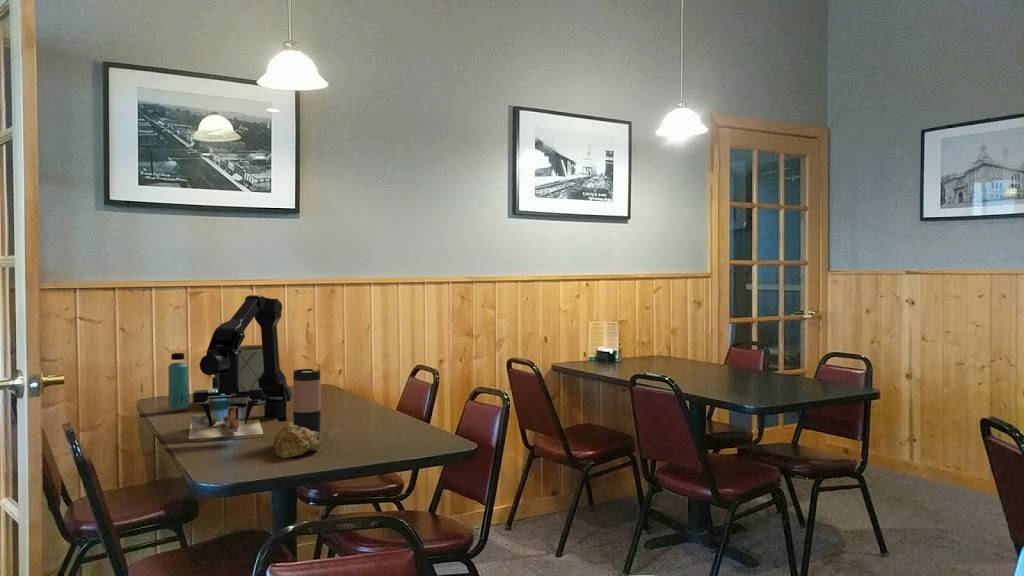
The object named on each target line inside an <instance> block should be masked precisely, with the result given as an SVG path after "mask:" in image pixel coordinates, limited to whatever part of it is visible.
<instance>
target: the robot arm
mask: <svg viewBox="0 0 1024 576" xmlns="http://www.w3.org/2000/svg"><path fill="white" fill-rule="evenodd" d="M282 311H283V304H282V302H281V301H280V300H279V299H278V298H270V297H265V296H263V295H260V294H259V295H255V294H254V295H247V296H245V298H244V301H243V303H242V304H241V306H239V308H238V309H237V311H236V312H235V313H234V315H233V316H231V318H230V319H229V320H227V321H225V322H223V323H221V324H220V325H219V326H217V327H216V328H215V330H214V332H213V333H212V335H211V336H212V337H211V339H210V341H209V344H208V346H207V349H206V353H205V355H204V356H202V358H201V359H200V362H199V369H200V371H201V372H202V373H203V374H204V375H206V376H213V375H217V376H215V377H214V376H213V377H212V390H215V389H216V390H217V391H215V392H213V391H212V392H209V390H208V389H198V390H197V389H196V390H194V391H193V394H192V403H193V404H194V403H195V404H197V406H198V407H202V408H203V409H202V410H204V413H205V415H207V418H208V421H209V423H210V426H212V417H211V415H212V412H211V403H210V400H216V399H217V400H219V399H221V400H222V399H226V398H242V397H248V398H247V404H246V405H245V413H244V421H245V424H246V423H247V420H249V417H250V414H251V412H252V409H253V407H254V406H255V405H256V404H255V403H258V400H261V401H266V402H265V404H263V417H264V418H276V420H277V421H288V418H287V402H291V400H292V398H293V393H292V391H291V389H290V387H289V386H288V383H287V379H286V378H287V377H286V375H285V374H284V372H283V371H282V370H281V368H280V354H279V342H278V341H279V339H278V338H279V337H278V327H277V326H278V324H279V322H280V321H281V318H282ZM254 319H255V321H256V322H257V324H258V325H259V327H260V334H261V335H260V337H261V345H262V351H263V365H264V372H263V374H262V376H261V377H260V378H259V379H258V383H259V387H257V388H248V391H239V354H240V353H242V351H241V350H240V349H239V346H241V345H242V343H243V342H244V339H246V338H245V337H246V335H245V330H246V329H247V327H248V326H249V324H251V322H252V321H253V320H254Z"/></svg>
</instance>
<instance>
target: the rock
mask: <svg viewBox="0 0 1024 576" xmlns="http://www.w3.org/2000/svg"><path fill="white" fill-rule="evenodd" d="M323 438H324V437H323V434H322V433H321V431H320V432H317V431H311V430H309V429H308V428H304V427H299V426H297V425H294V422H293V421H289V422H287V423H286V424H285V426H283V428H281V429H280V430H278V432H277V434H276V435H275V436H274V441H273V443H272V447H273V449H274V448H275V457H279V458H281V459H291V458H294V457H296V456H302V455H304V454H305V453H307V452H318V450H319V448H320V444H321V442H322V441H323Z"/></svg>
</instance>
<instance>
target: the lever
mask: <svg viewBox="0 0 1024 576" xmlns="http://www.w3.org/2000/svg"><path fill="white" fill-rule="evenodd" d="M239 408H240V407H239V406H228V407H227V415H224V416H221V419H220V422H223V424H224V426H225V427H226V429H227V431H228V432H229V433H232V432H238V428H239V421H240V419H239V418H240V417H239V414H240V413H239V412H240V411H239Z"/></svg>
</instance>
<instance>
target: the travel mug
mask: <svg viewBox="0 0 1024 576" xmlns="http://www.w3.org/2000/svg"><path fill="white" fill-rule="evenodd" d="M292 373H293V377H292V378H293V379H292V380H293V383H292V384H293V385H292V386H293V390H292V391H293V393H292V399H293V400H292V403H293V404H292V416H293V418H292V420H293V421H292V422H293V424H294V425H297V426H299V427H304V428H308V429H309V430H311V431H317V432H320V433H321V418H322V417H321V414H322V413H321V412H322V411H321V410H322V407H321V406H322V403H321V402H322V401H321V397H322V395H321V393H322V392H321V388H322V387H321V386H322V385H321V370H320V369H318V370H317V371H316V370H314V369H312V368H304V369H303V368H302V369H300V368H299V369H294V370H293V372H292Z"/></svg>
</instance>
